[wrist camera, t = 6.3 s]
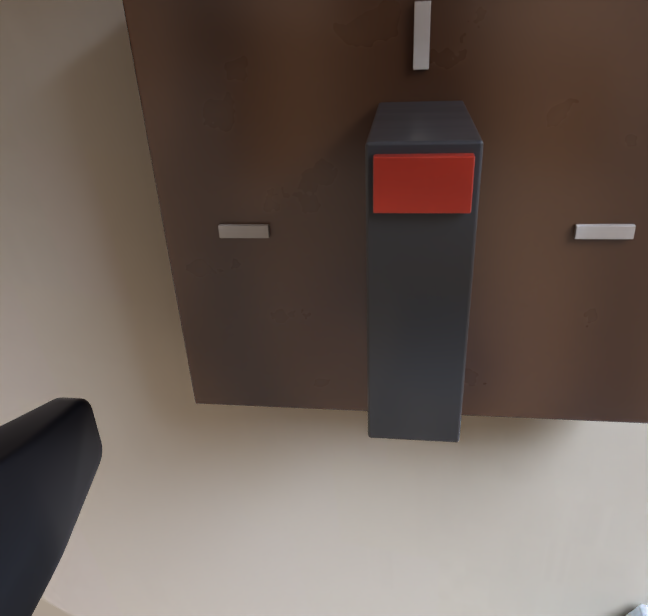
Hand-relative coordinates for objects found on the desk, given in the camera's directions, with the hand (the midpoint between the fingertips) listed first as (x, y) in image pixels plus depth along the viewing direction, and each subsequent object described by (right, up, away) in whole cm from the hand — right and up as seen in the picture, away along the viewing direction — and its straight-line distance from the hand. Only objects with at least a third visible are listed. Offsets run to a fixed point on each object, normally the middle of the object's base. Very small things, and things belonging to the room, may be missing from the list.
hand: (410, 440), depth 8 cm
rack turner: (+1, +4, +8) cm, 9 cm away
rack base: (+2, +5, +10) cm, 12 cm away
